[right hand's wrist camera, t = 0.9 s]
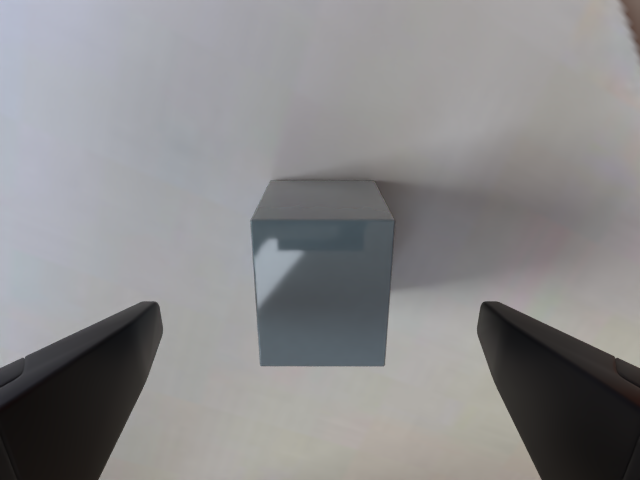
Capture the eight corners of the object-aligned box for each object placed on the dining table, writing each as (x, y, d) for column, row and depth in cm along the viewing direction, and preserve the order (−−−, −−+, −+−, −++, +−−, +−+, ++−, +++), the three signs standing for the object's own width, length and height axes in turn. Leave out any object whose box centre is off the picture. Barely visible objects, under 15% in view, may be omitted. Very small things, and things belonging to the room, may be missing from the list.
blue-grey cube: (374, 180, 16) (395, 219, 11) (368, 294, 17) (385, 366, 13) (269, 179, 16) (249, 219, 11) (275, 294, 17) (259, 366, 13)
